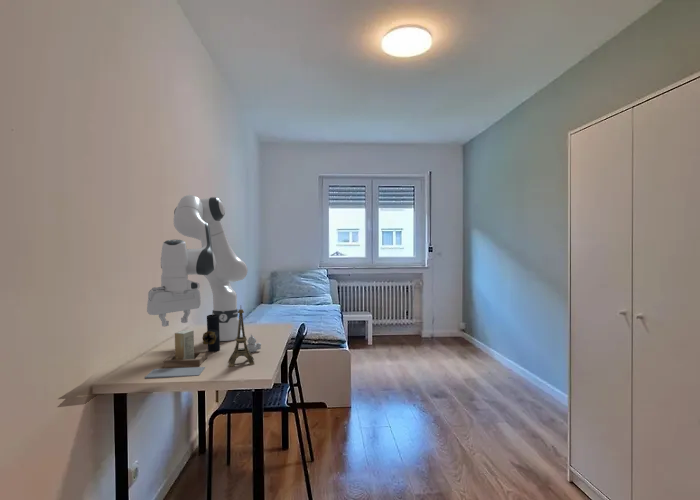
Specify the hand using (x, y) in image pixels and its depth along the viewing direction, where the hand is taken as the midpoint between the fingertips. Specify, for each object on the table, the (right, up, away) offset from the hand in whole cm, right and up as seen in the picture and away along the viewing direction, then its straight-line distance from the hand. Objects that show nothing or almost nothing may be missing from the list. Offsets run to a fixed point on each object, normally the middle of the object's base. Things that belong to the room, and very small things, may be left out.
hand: (175, 324), depth 159 cm
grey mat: (0, -18, 0) cm, 18 cm away
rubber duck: (+21, -17, +30) cm, 41 cm away
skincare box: (-2, -18, +14) cm, 23 cm away
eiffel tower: (+21, -18, +12) cm, 30 cm away
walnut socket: (-1, -17, +14) cm, 22 cm away
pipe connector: (+4, -17, +31) cm, 36 cm away
